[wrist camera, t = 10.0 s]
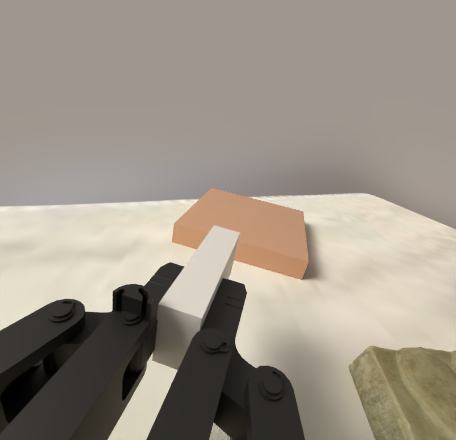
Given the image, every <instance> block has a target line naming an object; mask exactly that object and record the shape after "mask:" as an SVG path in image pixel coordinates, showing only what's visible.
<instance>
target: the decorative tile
mask: <svg viewBox="0 0 456 440" xmlns="http://www.w3.org/2000/svg"><path fill="white" fill-rule="evenodd" d="M349 370H350V373H351V376H352V378H353V381H354V384H355V386H356V389H357V392H358V394H359V397H360V400H361V402H362V405H363V408H364V410H365V413H366V416H367V418H368V421H369V423H370V426H371V429H372V431H373V434H374V437H375V439H376V440H456V351H453V352H447V351H441V350H433V349H426V348H422V347H418V348H403V349H400V350H398V351H396V350H390V349H384V348H379V347H376V346H369V347H368V348H367V349H366V350H365V351H364V352H363V353H362V354H361V355H360V356H358V357H357V358H356V359H355V360H354V361H353V363H352V364H351V365H349Z"/></svg>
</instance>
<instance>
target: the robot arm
mask: <svg viewBox="0 0 456 440" xmlns="http://www.w3.org/2000/svg"><path fill="white" fill-rule="evenodd" d="M239 236H240V232H236V231H233V230H229V229H226V228H222V227H218V226H215V225H214V226H213V227H212V229H211V230H210V232H209V233H208V234H207V236H206V237H205V239H204V240H203V242H202V243H201V244H200V246H199V247H198V249H197V250H196V251H195V253H194V254H193V256H192V257H191V258H190V260H189V261H188V263H187V264H186V265H185V267H184V266H180V265H177V264H174V263H171V262H170V263H168V264H166V265H164V266H162V267H160V268H159V270H158V271H157V272H156V273H155V275H153V277H152V278H151V279H150V281H148V282H147V284H146V285H145V286H142V285H137V284H129V285H124V286H121V287H119V288H117V289H116V290H114V291H113V311H112V312H108V313H99V312H85V307H84V305H83V304H82V303H81V302H80V301H77V300H74V299H63V300H57V301H55V302H52V303H50V304H48V305H46V306H44V307H42V308H40V309H39V310H37V311H35V312H33V313H31V314H30V315H28V316H26V317H24V318H22V319H21V320H19V321H17V322H15V323H13V324H11V325H10V326H8V327H6V328H4V329H2V330H1V331H0V440H107V439H108V438H109V436H110V434H111V432H112V431H113V429H114V427H115V425H116V424H117V422H118V420H119V418H120V417H121V415H122V413H123V411H124V410H125V408H126V406H127V404H128V402H129V401H130V399H131V397H132V395H133V394H134V392H135V390H136V388H137V387H138V385H139V383H140V381H141V380H142V378H143V376H144V374H145V371H146V366H147V361H148V359H149V358H150V356H151V354H152V353H153V359H152V361H155V362H158V363H161V364H163V365H166V366H169V367H172V368H174V369H177V370H178V371H177V373H176V376H175V378H174V380H173V382H172V384H171V387H170V389H169V391H168V393H167V395H166V398H165V400H164V402H163V404H162V406H161V409H160V411H159V413H158V415H157V418H156V420H155V422H154V424H153V426H152V429H151V431H150V433H149V435H148V437H147V440H209V437H210V433H211V430H212V426H213V422H214V423H215V424H216V425H217V426H218V427H220V428H221V429H222V430H223V431H224V432H225V433H226V434H227V435H229V436H230V440H305V438H304V434H303V429H302V425H301V421H300V416H299V412H298V407H297V403H296V399H295V394H294V390H293V388H292V385H291V383H290V381H289V379H288V378H287V377H286V376H285V375H284V373H282V372H281V371H279V370H278V369H276V368H274V367H270V366H259V367H258V368H255V367H253V366H252V365H250V364H249V363H248V362H246V361H245V360H244V359H243V358H242V357H241V356H240V354H239V353H238V351H237V349H236V345H235V337H236V333H237V329H238V325H239V321H240V318H241V314H242V310H243V306H244V302H245V298H246V294H247V292H246V289H245V285H244V284H241V283H238V282H235V281H232V280H228V278H229V276H230V273H231V269H232V265H233V261H234V257H235V252H236V248H237V244H238V240H239Z"/></svg>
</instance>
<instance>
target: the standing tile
mask: <svg viewBox="0 0 456 440" xmlns="http://www.w3.org/2000/svg"><path fill="white" fill-rule="evenodd" d="M214 225H215V226H218V227H222V228H226V229H229V230H233V231H236V232H240V236H239V240H238V244H237V248H236V252H235V257H234V260H235V261H239V262H242V263H246V264H249V265H253V266H256V267H260V268H263V269H266V270H270V271H273V272H277V273H280V274H284V275H287V276H290V277H294V278H297V279H301V280H302V278H303V275H304V273H305V270H306V268H307V265H308V262H309V258H308V249H307V240H306V232H305V223H304V214H303V211H299V210H295V209H291V208H287V207H283V206H280V205H276V204H272V203H268V202H264V201H260V200H256V199H252V198H249V197H245V196H241V195H237V194H233V193H229V192H225V191H221V190H218V189H213V188H211V189H210V190H209V191H208V192H207V193H206V194H205V195H204V196H203V197H202V198H200V199H199V200H198V201H197V202H196V203H195V204H194V205H193V206H192V207H191V208H190V209H189V210H188V211H187V212H186V213H185V214H184V215H183V216H182V217H181V218H179V219H178V220H177V221H176V222H175V223H174V229H173V238H172V242H174V243H177V244H181V245H184V246H187V247H191V248H194V249H198V247H199V246H200V244H201V243H202V242H203V240H204V239H205V237H206V236H207V234H208V233H209V232H210V230H211V229H212V227H213V226H214Z"/></svg>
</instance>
